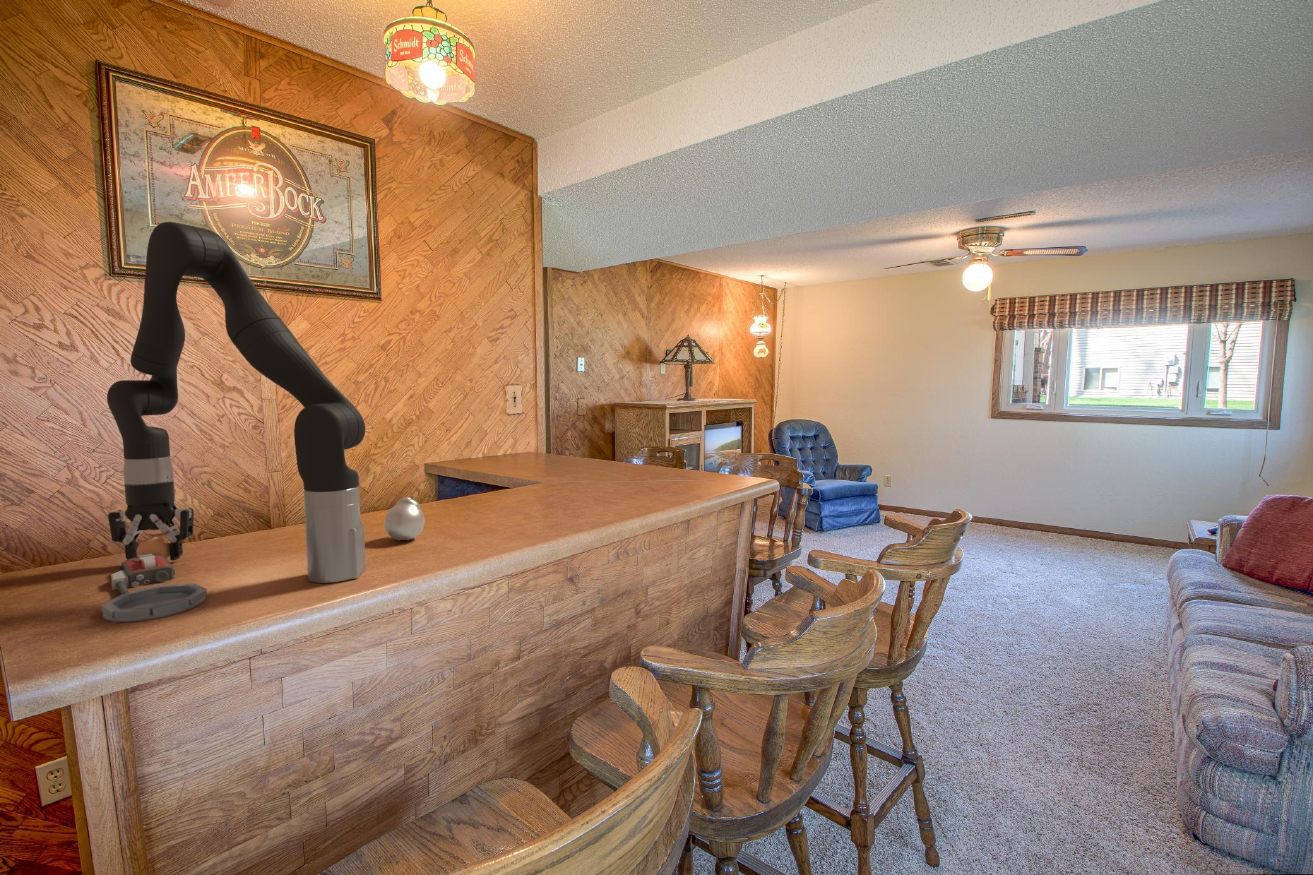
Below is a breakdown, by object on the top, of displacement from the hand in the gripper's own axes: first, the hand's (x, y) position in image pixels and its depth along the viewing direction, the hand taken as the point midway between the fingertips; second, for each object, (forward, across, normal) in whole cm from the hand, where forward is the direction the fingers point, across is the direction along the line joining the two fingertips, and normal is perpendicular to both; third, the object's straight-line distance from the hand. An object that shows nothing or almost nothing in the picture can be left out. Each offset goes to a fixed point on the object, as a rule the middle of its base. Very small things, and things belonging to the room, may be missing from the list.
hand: (155, 560), depth 119 cm
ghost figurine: (+1, +46, +10) cm, 47 cm away
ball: (-2, 0, 0) cm, 2 cm away
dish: (+1, +14, -26) cm, 30 cm away
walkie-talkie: (+1, +4, -12) cm, 13 cm away
